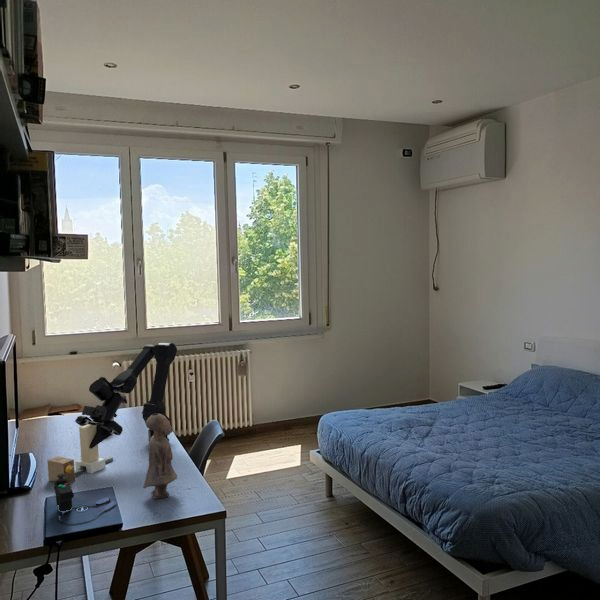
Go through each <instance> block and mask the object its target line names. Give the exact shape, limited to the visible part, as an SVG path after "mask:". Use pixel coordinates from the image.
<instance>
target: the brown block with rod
mask: <svg viewBox="0 0 600 600" xmlns="http://www.w3.org/2000/svg"><path fill="white" fill-rule="evenodd" d="M104 459H105V465H106V464H108V463H111V462H113V461H114V457H112V456H107V457H105V458H104ZM47 473H48V476H47V477H48V481H49V482H52V483H53V482H54V481H56V480H58V479H59V477H57V475H58V474H65V476H64V477H63V478H65V479H68V480H69V482H70V483H73V482H75V481H76V477H77V476H79V475H82V474H86V473H87V470H86V466H85V467H82V468H80V469H77V470H76V469H75V460H74V459H71V458H68V457H63V456H58V455H57V456H55V457H52V458H50V459H47Z"/></svg>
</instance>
